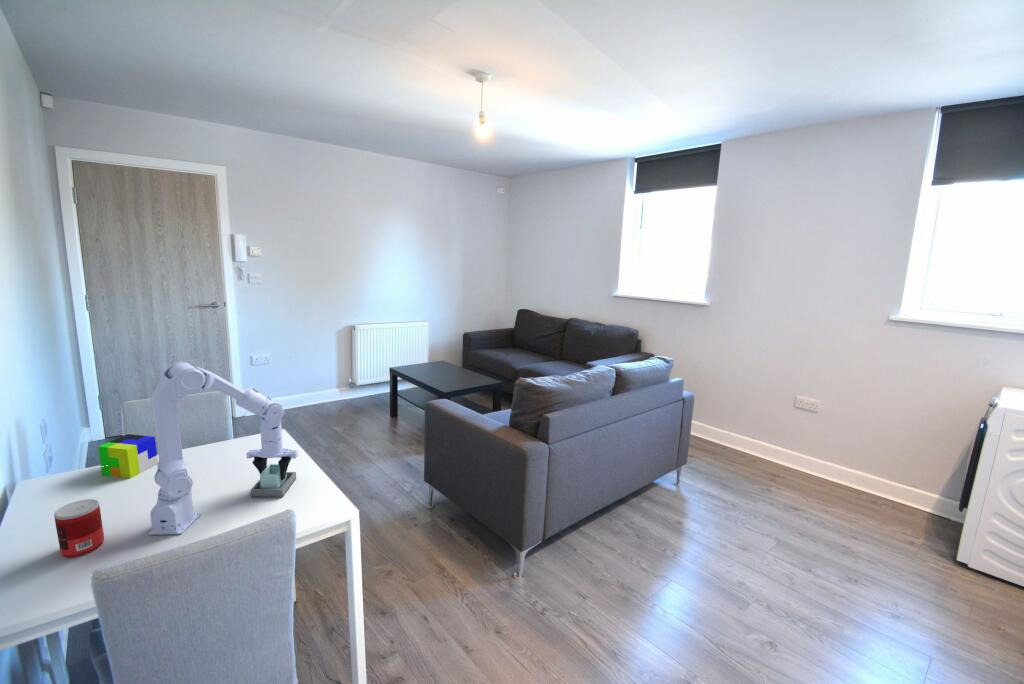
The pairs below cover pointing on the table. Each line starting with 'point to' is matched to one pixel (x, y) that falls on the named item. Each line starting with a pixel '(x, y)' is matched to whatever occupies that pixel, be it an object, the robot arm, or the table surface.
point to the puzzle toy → (128, 456)
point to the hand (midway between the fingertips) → (274, 478)
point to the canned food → (79, 527)
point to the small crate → (271, 477)
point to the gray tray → (280, 492)
